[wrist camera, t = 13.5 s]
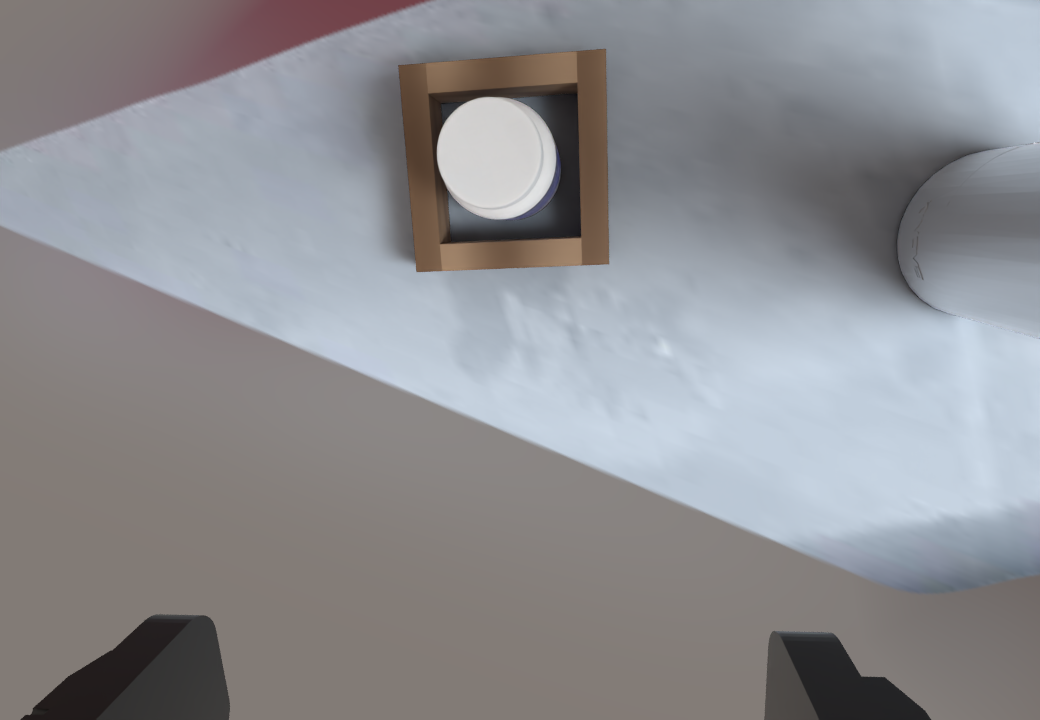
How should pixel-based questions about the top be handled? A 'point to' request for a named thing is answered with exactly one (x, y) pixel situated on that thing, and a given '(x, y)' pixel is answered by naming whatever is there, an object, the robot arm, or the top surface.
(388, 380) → the top surface
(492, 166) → the pill bottle
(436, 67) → the socket block
